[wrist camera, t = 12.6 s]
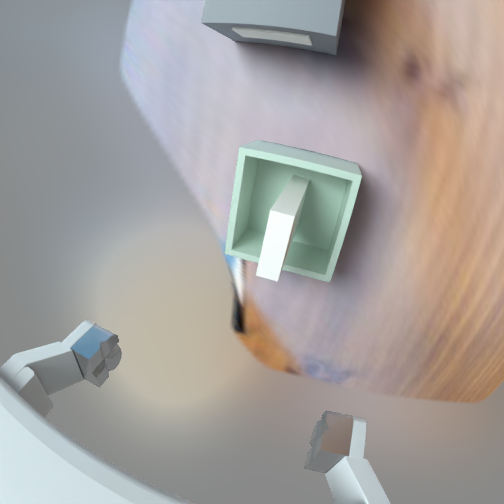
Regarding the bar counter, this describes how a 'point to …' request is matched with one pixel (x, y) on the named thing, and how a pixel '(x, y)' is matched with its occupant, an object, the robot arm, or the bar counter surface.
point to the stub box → (313, 212)
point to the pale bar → (282, 228)
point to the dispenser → (278, 22)
